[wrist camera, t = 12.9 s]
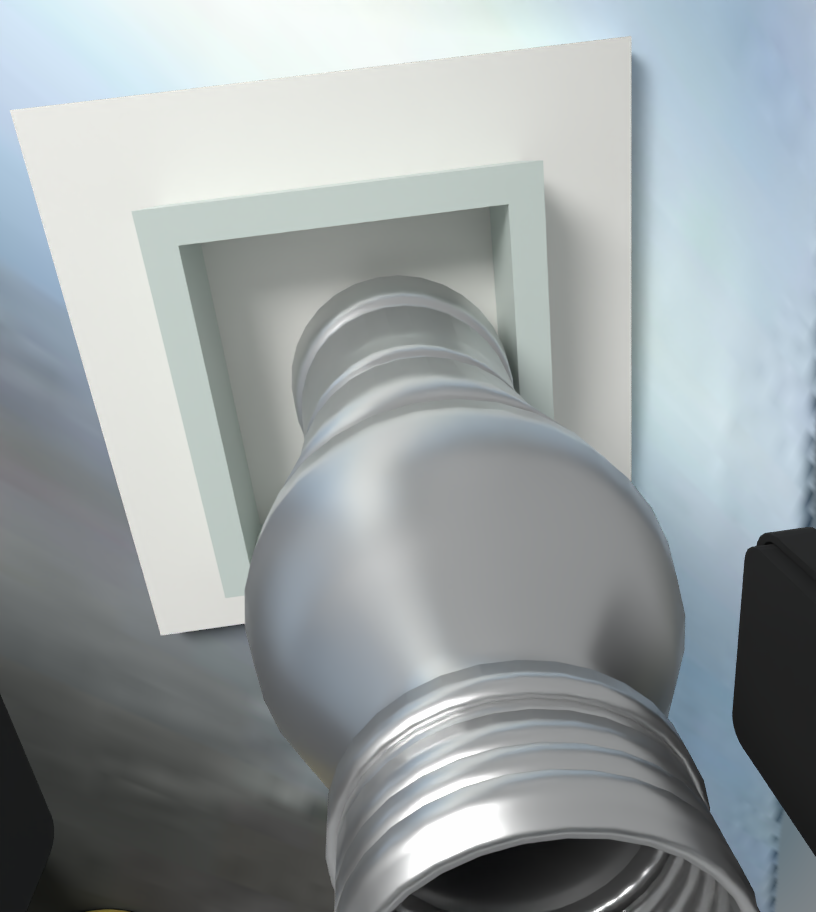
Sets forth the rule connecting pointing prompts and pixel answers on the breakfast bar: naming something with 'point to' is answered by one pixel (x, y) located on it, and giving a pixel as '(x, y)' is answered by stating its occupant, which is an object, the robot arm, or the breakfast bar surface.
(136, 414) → the charging dock
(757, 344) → the breakfast bar surface
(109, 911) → the plant pot
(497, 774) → the metal bottle
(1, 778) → the robot arm
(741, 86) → the breakfast bar surface
